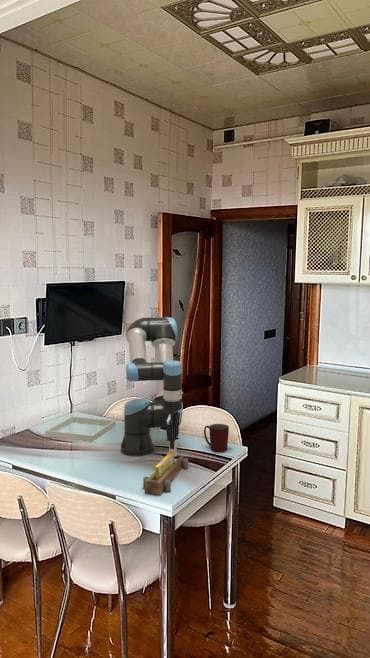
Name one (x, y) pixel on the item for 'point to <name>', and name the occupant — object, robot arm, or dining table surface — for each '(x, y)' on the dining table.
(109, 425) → the tray rim
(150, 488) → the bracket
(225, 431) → the mug
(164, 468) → the candy box
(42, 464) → the dining table surface
